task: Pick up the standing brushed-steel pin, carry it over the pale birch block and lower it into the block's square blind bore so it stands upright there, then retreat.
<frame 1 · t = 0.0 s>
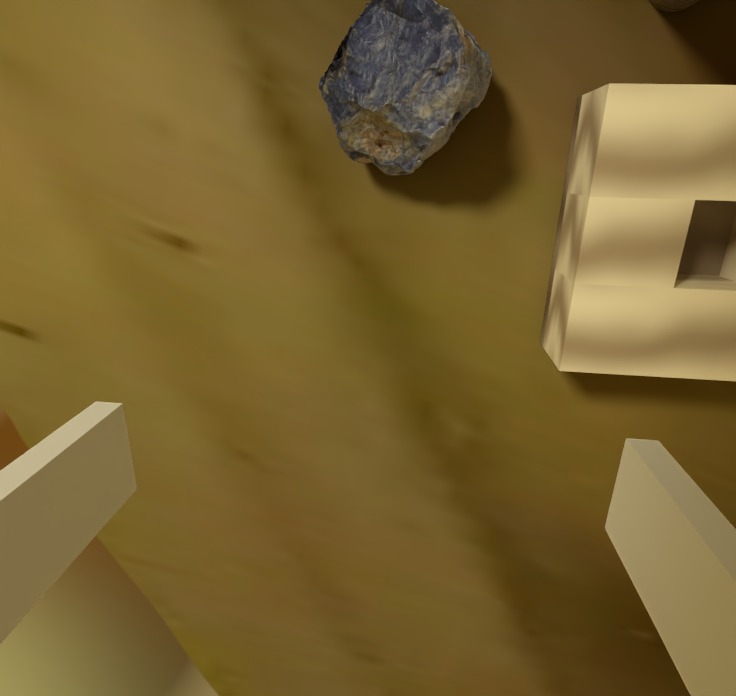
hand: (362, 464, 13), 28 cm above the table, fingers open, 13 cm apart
bore block: (682, 234, 36), on the table
rock: (404, 95, 35), on the table
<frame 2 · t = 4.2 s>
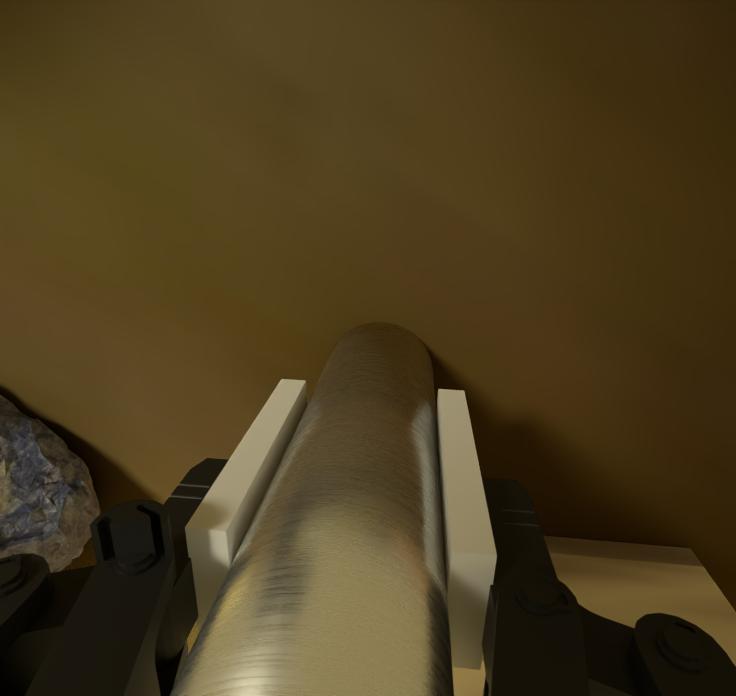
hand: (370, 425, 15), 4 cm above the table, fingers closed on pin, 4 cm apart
pin: (380, 372, 19), on the table, touching gripper
bore block: (451, 677, 24), on the table
rock: (13, 485, 23), on the table
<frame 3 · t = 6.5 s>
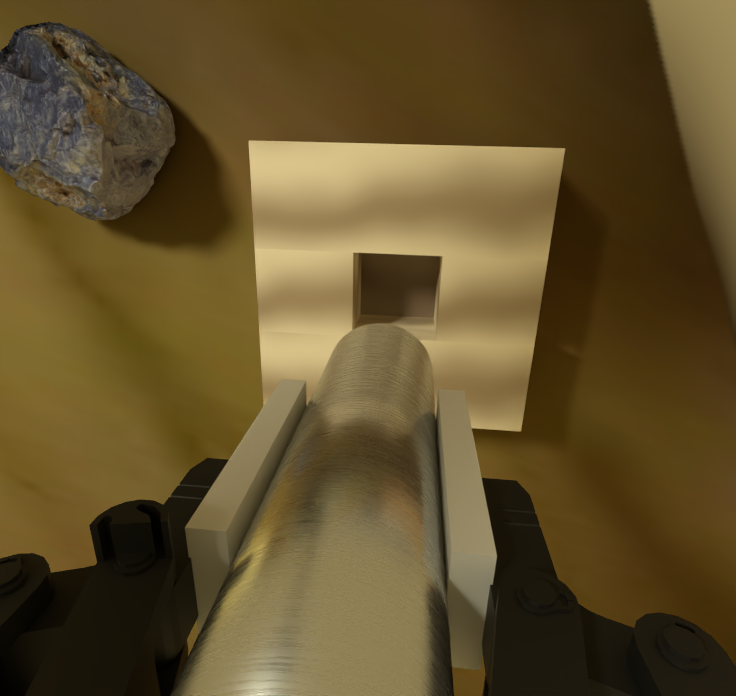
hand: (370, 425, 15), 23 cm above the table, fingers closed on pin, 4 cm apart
pin: (380, 373, 19), point 19 cm above the table, touching gripper
bore block: (399, 277, 37), on the table
rock: (114, 140, 36), on the table
when the fingers open (8 cm above the table, at t = 9.0 s): pin drops 2 cm, resting on bore block.
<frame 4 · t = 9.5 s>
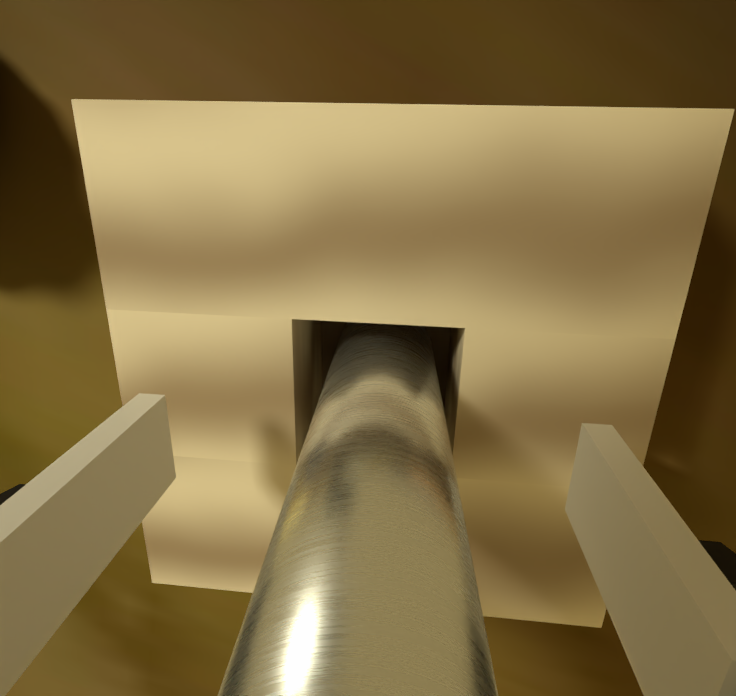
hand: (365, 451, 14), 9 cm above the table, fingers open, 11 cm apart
pin: (384, 350, 21), point 1 cm above the table, touching bore block
bore block: (386, 342, 22), on the table
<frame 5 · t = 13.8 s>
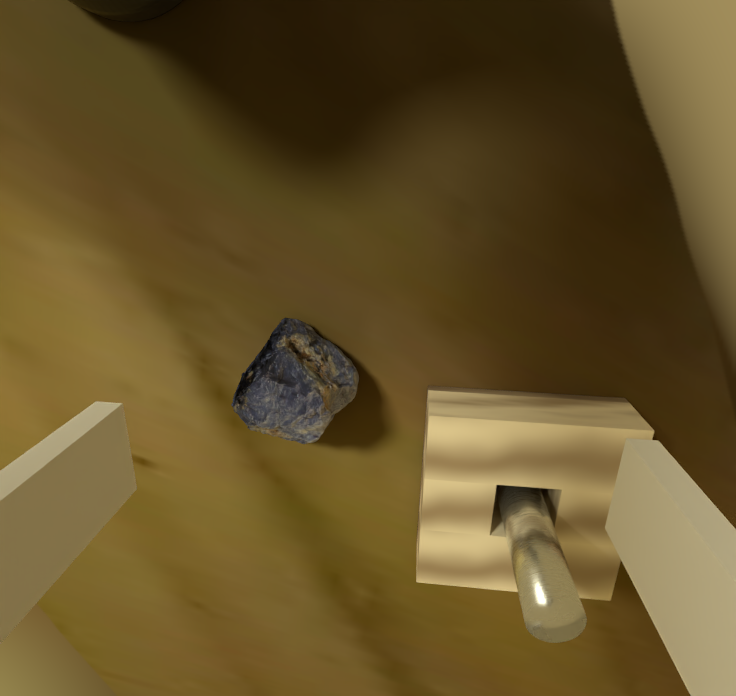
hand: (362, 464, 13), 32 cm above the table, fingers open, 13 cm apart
pin: (514, 479, 48), point 1 cm above the table, touching bore block
bore block: (512, 473, 49), on the table
rock: (304, 376, 48), on the table
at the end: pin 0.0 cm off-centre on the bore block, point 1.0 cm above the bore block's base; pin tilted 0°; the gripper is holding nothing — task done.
